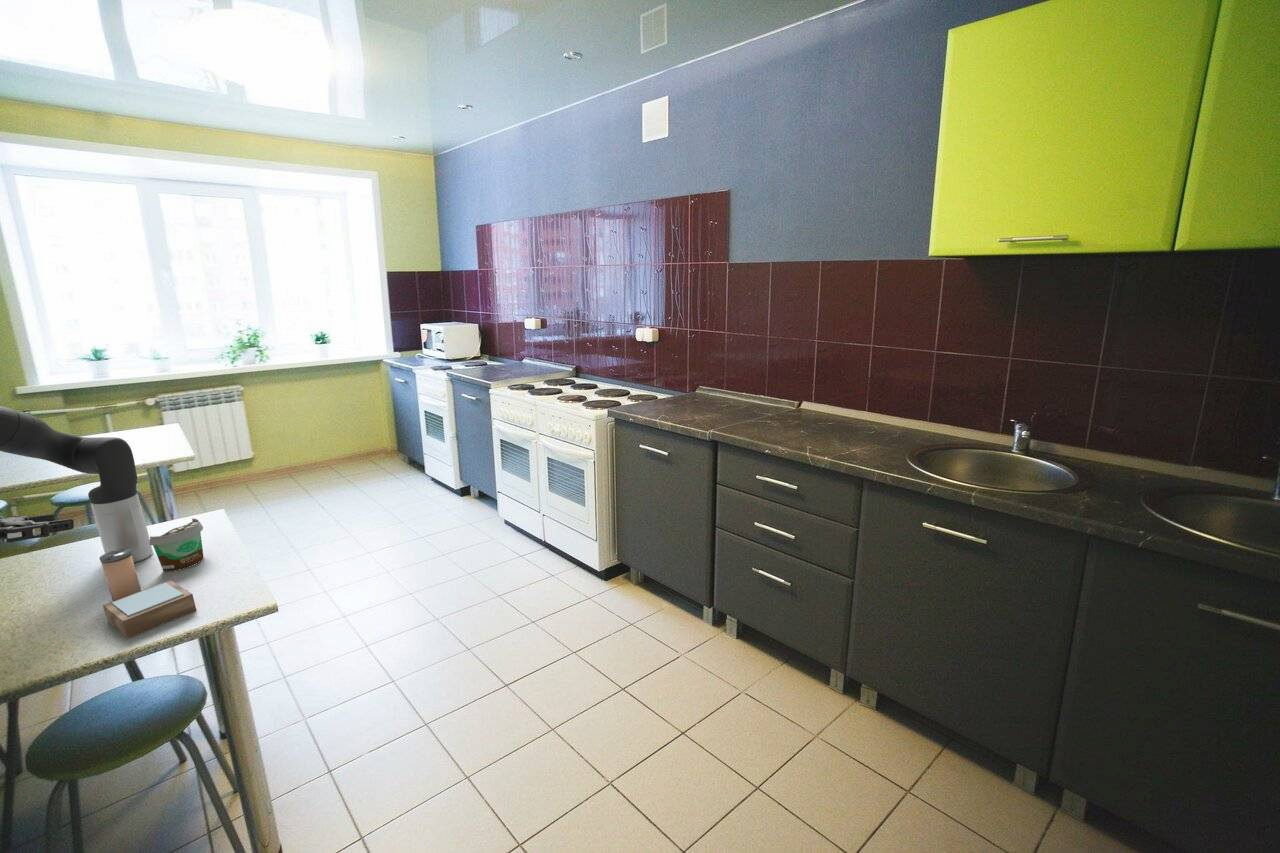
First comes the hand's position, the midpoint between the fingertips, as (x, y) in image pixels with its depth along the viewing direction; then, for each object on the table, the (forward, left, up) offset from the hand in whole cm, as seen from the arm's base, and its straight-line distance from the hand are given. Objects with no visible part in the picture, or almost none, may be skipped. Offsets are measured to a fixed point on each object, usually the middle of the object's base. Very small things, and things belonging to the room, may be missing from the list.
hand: (62, 521), depth 122 cm
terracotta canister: (-2, +7, -22) cm, 23 cm away
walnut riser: (+13, +7, -22) cm, 27 cm away
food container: (-9, +22, -22) cm, 32 cm away
